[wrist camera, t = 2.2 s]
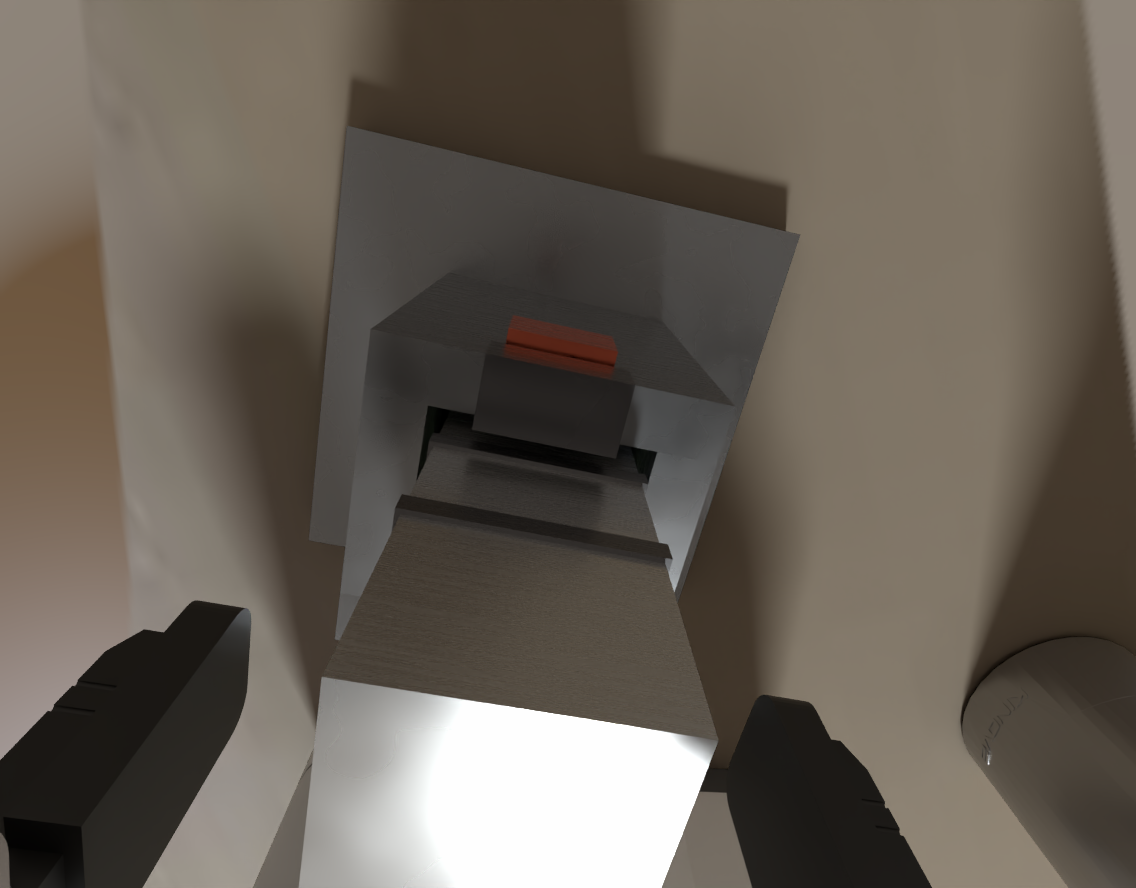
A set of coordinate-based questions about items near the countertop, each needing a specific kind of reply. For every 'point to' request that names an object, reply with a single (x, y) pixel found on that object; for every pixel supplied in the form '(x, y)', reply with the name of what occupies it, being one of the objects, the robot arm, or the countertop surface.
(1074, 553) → the countertop surface
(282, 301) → the countertop surface
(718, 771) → the wine bottle
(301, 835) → the travel mug
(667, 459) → the stepped pedestal base
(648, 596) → the block
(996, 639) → the countertop surface
